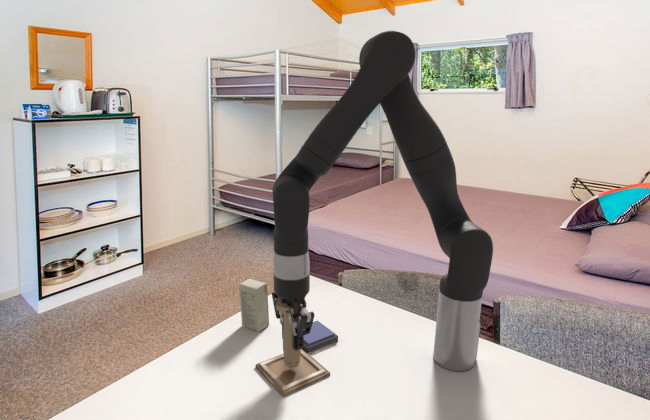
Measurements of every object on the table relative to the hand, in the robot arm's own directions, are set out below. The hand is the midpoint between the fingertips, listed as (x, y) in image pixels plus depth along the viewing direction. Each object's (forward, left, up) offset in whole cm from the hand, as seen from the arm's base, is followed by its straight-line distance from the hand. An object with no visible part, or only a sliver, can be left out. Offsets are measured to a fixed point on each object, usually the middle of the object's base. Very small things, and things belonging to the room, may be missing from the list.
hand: (292, 343), depth 93 cm
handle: (0, 0, -5) cm, 5 cm away
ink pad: (-11, -8, -7) cm, 15 cm away
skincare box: (-2, -22, -7) cm, 23 cm away
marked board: (0, 0, -7) cm, 7 cm away
